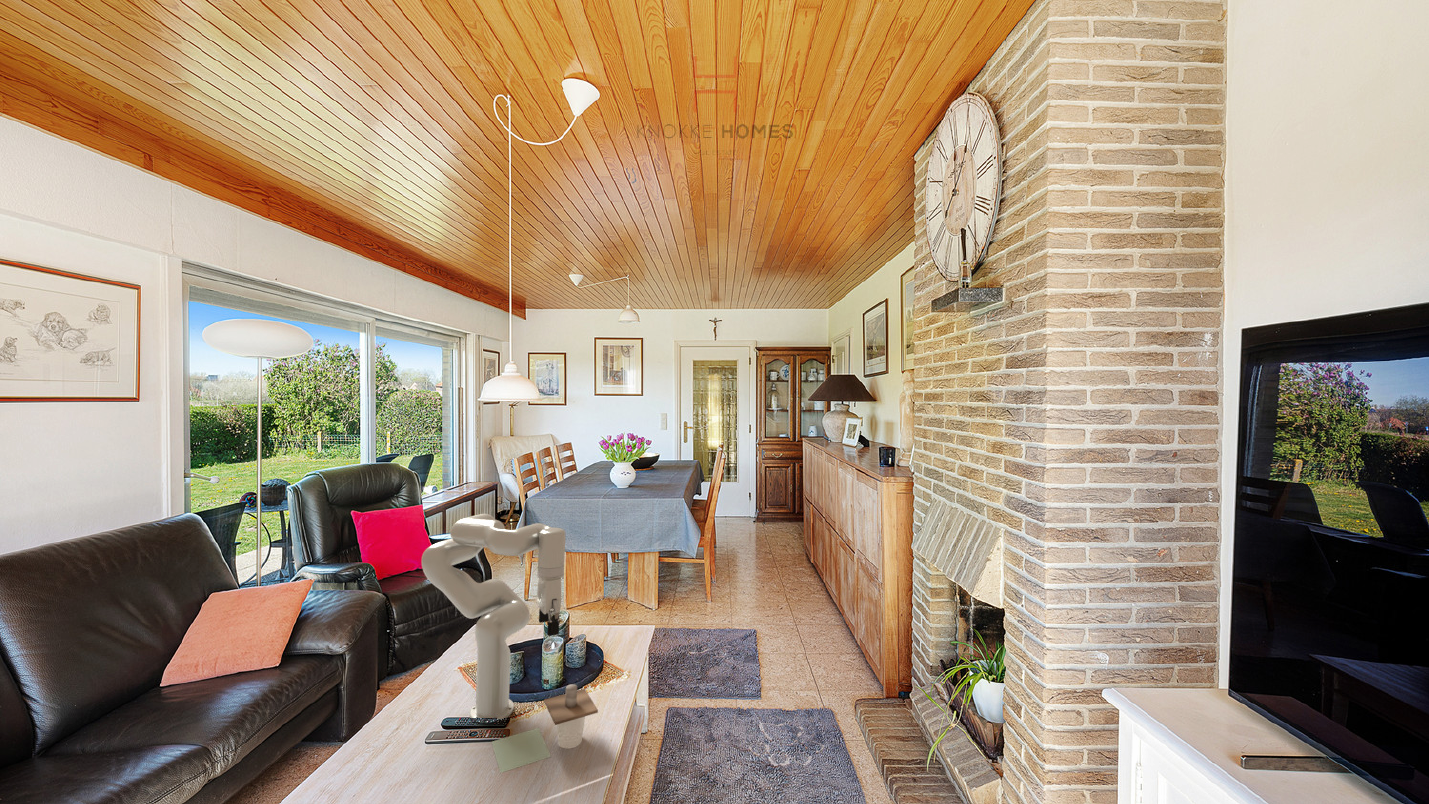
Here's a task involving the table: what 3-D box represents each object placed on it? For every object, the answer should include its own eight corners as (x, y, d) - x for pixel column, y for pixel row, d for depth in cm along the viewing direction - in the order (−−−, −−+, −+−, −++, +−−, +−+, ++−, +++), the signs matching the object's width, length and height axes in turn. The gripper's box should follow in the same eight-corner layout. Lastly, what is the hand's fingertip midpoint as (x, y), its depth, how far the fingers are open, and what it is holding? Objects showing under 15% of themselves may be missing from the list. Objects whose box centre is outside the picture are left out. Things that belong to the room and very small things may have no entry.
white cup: (576, 753, 144) (577, 717, 144) (550, 748, 146) (552, 713, 146) (588, 735, 152) (590, 701, 152) (564, 731, 154) (565, 697, 154)
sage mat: (491, 743, 147) (491, 741, 147) (538, 729, 154) (538, 727, 154) (500, 774, 135) (500, 772, 135) (550, 757, 142) (551, 756, 142)
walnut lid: (544, 702, 151) (544, 682, 151) (584, 691, 157) (585, 672, 157) (555, 725, 141) (555, 703, 141) (597, 712, 147) (598, 692, 147)
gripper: (531, 563, 159) (528, 619, 159) (545, 581, 144) (543, 643, 144) (555, 560, 163) (553, 614, 163) (572, 577, 148) (569, 637, 148)
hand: (548, 628), depth 154 cm, fingers open, 9 cm apart
